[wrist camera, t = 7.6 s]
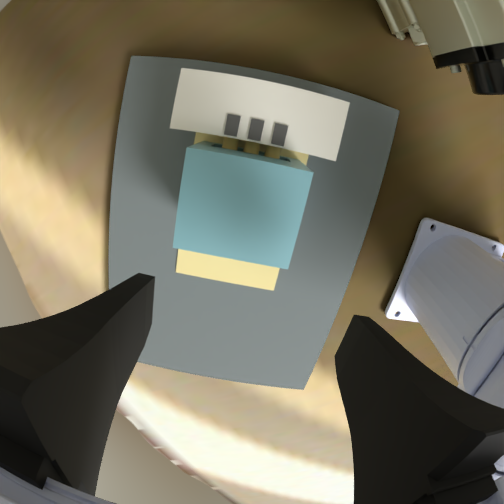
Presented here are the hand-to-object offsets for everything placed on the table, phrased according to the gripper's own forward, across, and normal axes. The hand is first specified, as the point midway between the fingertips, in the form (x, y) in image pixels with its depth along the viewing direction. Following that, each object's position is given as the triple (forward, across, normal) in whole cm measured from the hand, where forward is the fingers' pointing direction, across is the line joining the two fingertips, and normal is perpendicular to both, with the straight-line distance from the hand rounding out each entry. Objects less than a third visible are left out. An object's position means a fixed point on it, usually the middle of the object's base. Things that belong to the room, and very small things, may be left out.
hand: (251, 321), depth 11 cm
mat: (+10, +1, +2) cm, 10 cm away
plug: (+9, +1, -3) cm, 9 cm away
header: (+9, +1, -6) cm, 10 cm away
